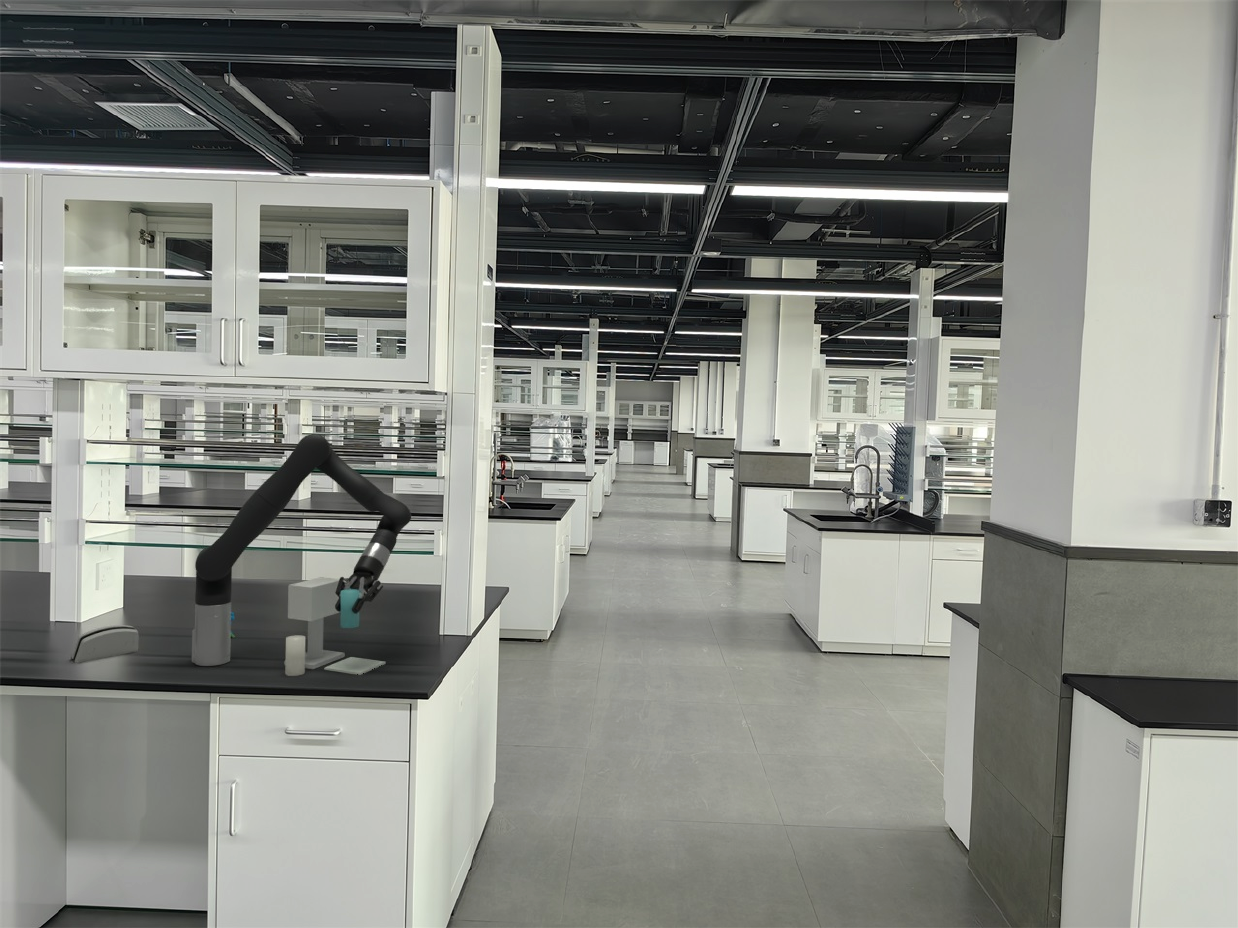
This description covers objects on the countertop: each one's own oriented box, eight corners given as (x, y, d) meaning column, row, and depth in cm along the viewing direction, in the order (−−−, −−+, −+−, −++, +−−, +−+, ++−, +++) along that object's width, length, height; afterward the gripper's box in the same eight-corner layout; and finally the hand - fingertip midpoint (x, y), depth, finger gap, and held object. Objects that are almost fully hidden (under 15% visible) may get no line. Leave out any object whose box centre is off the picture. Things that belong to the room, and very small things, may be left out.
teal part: (336, 626, 228) (336, 591, 228) (348, 623, 233) (348, 588, 232) (351, 628, 226) (351, 593, 226) (362, 624, 231) (363, 589, 231)
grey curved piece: (130, 647, 245) (136, 618, 243) (137, 655, 243) (143, 626, 240) (68, 659, 232) (73, 628, 229) (75, 668, 229) (80, 637, 227)
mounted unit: (284, 664, 233) (285, 584, 232) (318, 652, 247) (319, 576, 246) (313, 669, 230) (314, 587, 229) (345, 656, 244) (347, 579, 243)
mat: (324, 669, 230) (324, 667, 230) (350, 658, 241) (351, 656, 241) (360, 674, 226) (360, 672, 226) (385, 663, 238) (385, 661, 238)
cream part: (281, 674, 224) (281, 638, 224) (293, 669, 229) (294, 634, 229) (296, 676, 223) (296, 640, 222) (308, 671, 228) (309, 636, 227)
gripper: (346, 552, 238) (318, 601, 227) (388, 556, 233) (361, 606, 223) (357, 567, 243) (330, 615, 233) (398, 571, 239) (373, 620, 228)
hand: (345, 610), depth 228 cm, fingers closed on teal part, 5 cm apart
